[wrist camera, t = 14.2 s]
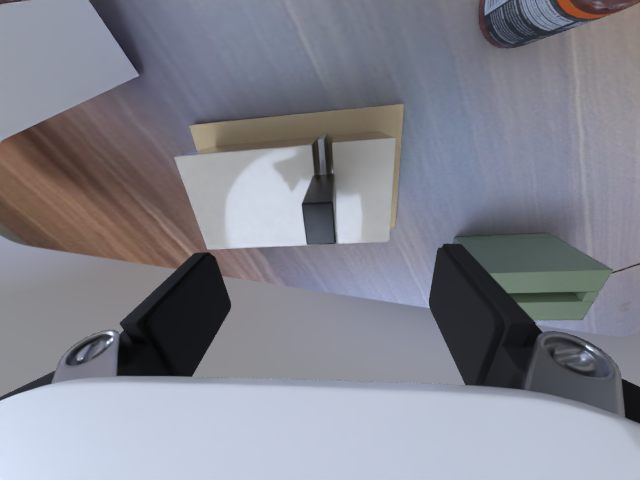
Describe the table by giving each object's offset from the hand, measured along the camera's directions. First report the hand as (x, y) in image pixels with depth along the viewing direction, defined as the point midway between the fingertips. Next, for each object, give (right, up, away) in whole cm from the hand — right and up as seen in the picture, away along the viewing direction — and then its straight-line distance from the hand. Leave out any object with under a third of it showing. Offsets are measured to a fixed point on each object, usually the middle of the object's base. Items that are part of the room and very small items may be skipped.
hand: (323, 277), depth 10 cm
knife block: (+21, 0, +18) cm, 27 cm away
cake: (-2, +8, +15) cm, 17 cm away
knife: (+1, +9, +13) cm, 16 cm away
